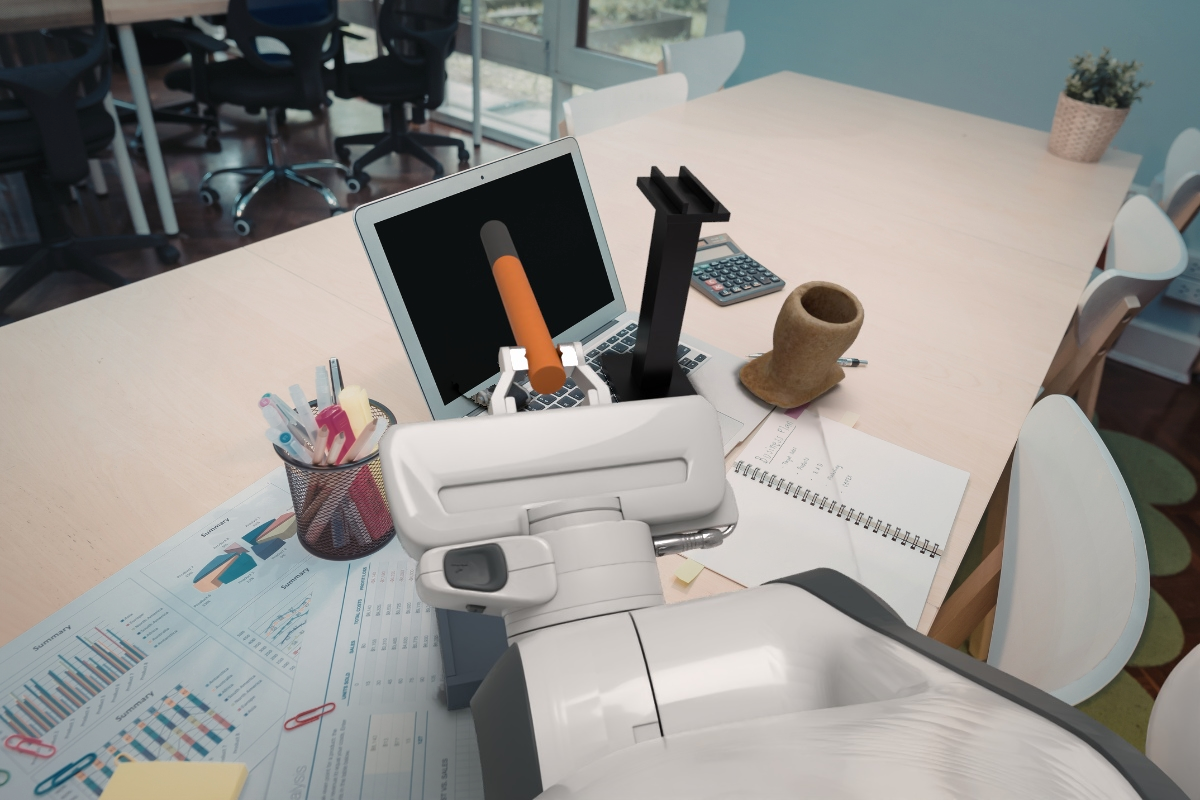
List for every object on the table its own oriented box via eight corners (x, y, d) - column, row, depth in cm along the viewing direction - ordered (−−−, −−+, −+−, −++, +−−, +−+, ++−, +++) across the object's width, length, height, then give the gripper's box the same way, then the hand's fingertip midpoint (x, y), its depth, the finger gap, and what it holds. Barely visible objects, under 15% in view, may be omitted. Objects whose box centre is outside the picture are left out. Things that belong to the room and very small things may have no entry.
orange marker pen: (563, 394, 45) (569, 365, 43) (528, 395, 44) (533, 365, 43) (505, 245, 60) (508, 220, 58) (478, 244, 59) (481, 219, 57)
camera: (500, 425, 85) (501, 397, 82) (446, 384, 90) (444, 356, 87) (533, 408, 88) (534, 380, 85) (478, 369, 93) (478, 341, 90)
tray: (601, 679, 61) (605, 655, 58) (448, 711, 57) (446, 686, 55) (538, 469, 80) (539, 445, 77) (419, 483, 76) (418, 459, 74)
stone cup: (795, 431, 89) (830, 328, 80) (724, 382, 96) (749, 281, 87) (865, 391, 98) (904, 293, 89) (795, 348, 104) (825, 253, 95)
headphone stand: (701, 413, 90) (751, 205, 74) (625, 421, 88) (658, 207, 71) (668, 358, 99) (706, 162, 83) (598, 364, 97) (622, 162, 80)
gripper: (768, 531, 41) (709, 313, 45) (389, 591, 35) (367, 335, 40) (725, 552, 46) (677, 357, 51) (393, 607, 41) (373, 381, 45)
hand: (538, 347), depth 45 cm, fingers closed on orange marker pen, 2 cm apart
